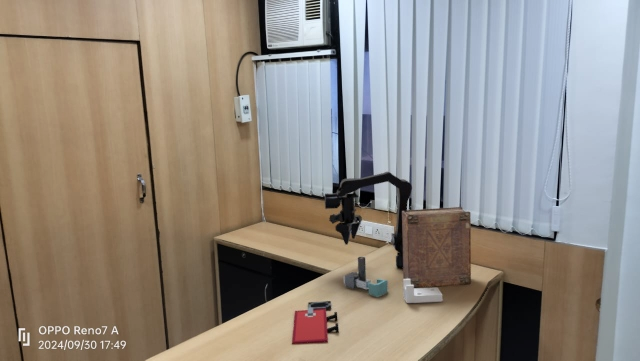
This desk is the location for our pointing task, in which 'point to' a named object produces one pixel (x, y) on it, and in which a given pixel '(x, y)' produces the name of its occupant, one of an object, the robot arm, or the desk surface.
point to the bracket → (420, 293)
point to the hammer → (361, 275)
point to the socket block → (378, 288)
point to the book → (437, 247)
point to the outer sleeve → (351, 280)
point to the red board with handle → (313, 324)
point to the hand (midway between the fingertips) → (350, 241)
